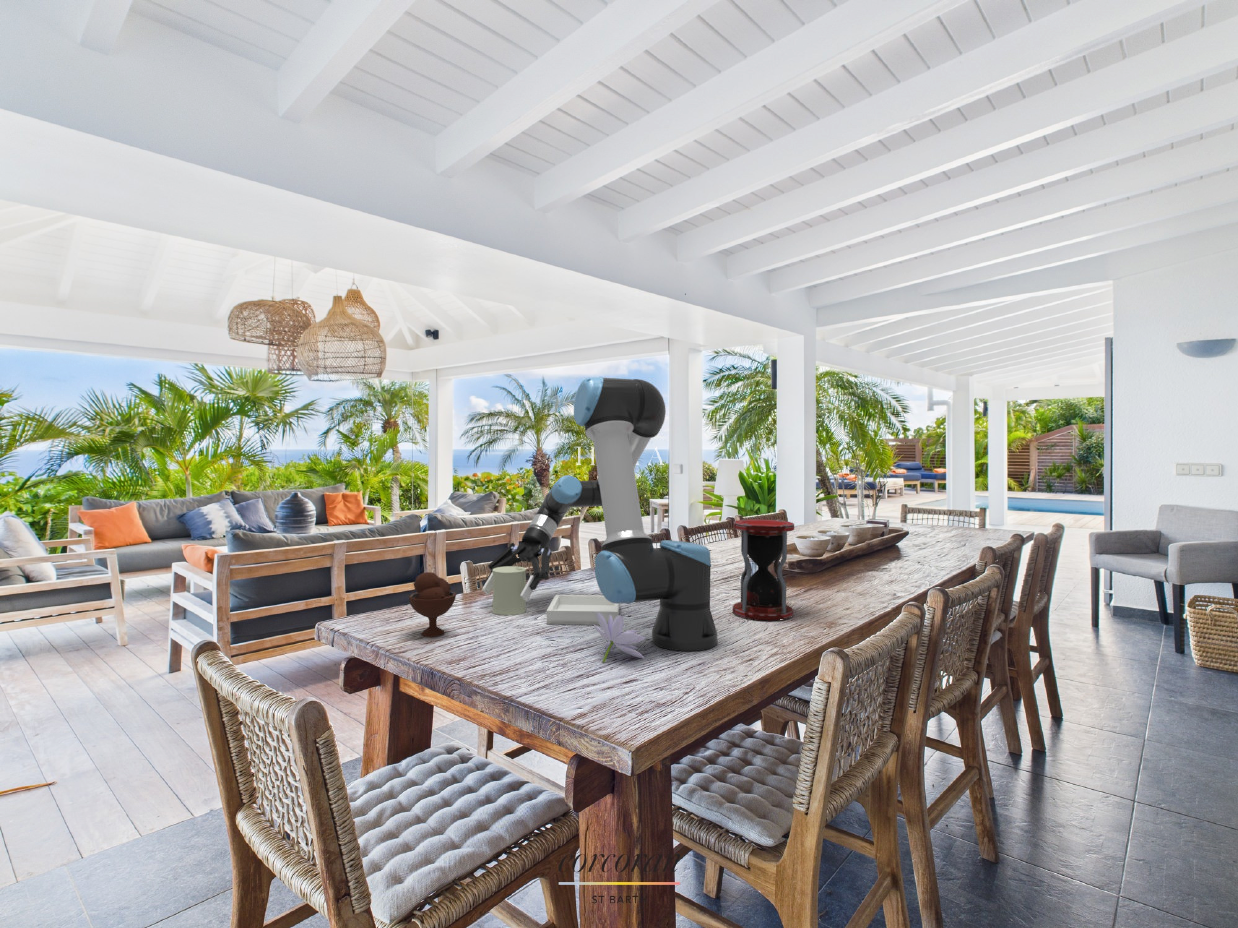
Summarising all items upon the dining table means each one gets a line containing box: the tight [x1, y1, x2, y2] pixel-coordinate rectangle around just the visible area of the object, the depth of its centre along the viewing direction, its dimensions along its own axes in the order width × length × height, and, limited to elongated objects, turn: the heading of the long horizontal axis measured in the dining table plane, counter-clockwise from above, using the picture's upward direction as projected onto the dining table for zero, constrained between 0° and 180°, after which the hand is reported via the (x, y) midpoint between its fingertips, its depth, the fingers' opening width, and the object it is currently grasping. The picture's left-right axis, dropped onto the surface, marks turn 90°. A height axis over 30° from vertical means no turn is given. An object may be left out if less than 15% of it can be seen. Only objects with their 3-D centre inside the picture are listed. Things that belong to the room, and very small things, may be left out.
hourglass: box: [732, 518, 795, 622], centre depth 181 cm, size 16×16×25 cm
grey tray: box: [546, 594, 621, 626], centre depth 178 cm, size 18×18×4 cm
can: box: [491, 565, 527, 616], centre depth 182 cm, size 9×9×12 cm
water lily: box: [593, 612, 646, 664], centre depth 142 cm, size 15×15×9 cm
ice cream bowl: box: [408, 571, 457, 638], centre depth 160 cm, size 11×11×15 cm
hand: (504, 595), depth 180 cm, fingers open, 13 cm apart
